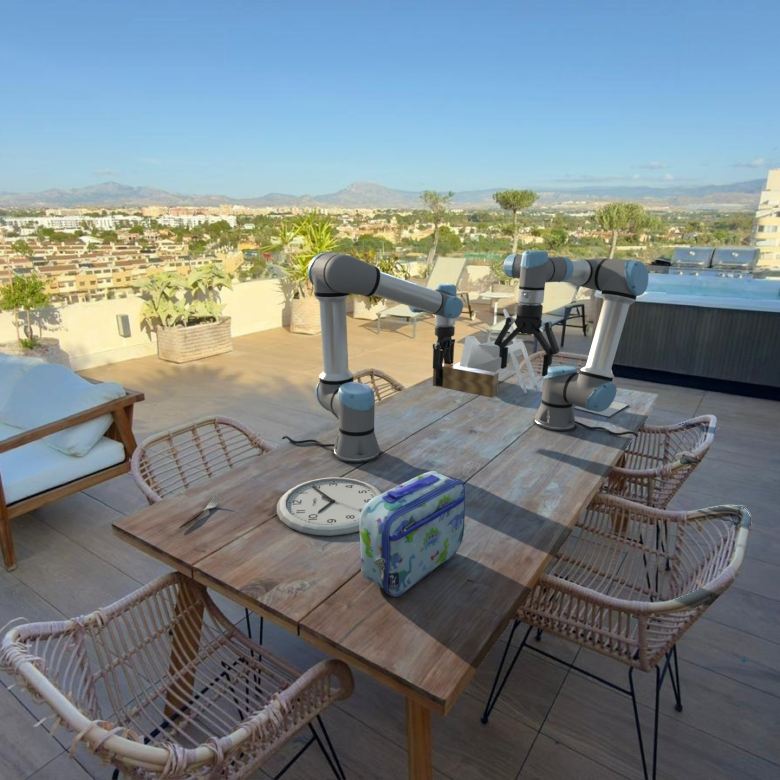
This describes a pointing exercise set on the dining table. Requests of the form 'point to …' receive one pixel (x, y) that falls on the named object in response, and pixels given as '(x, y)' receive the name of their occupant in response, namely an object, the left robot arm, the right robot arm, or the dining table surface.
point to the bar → (468, 380)
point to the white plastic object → (495, 356)
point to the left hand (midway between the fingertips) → (442, 383)
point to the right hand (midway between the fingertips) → (523, 371)
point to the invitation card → (609, 411)
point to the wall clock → (326, 505)
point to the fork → (209, 506)
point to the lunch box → (411, 531)
